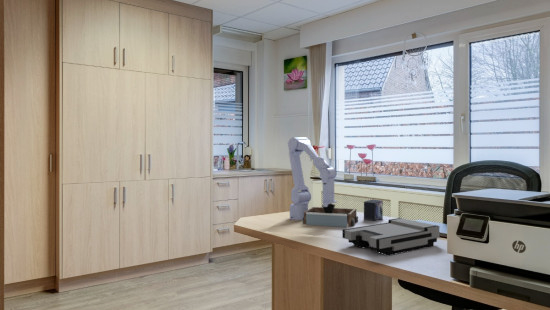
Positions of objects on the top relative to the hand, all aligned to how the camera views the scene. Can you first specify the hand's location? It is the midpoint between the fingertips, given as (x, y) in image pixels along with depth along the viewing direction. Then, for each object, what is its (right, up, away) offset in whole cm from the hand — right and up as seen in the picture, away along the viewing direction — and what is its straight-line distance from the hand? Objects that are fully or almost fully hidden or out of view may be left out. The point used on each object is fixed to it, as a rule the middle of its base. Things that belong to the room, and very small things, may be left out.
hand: (328, 219), depth 211 cm
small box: (+25, -3, +11) cm, 27 cm away
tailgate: (-2, -2, -4) cm, 5 cm away
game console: (+20, -5, -41) cm, 45 cm away
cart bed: (+1, -3, +4) cm, 5 cm away
